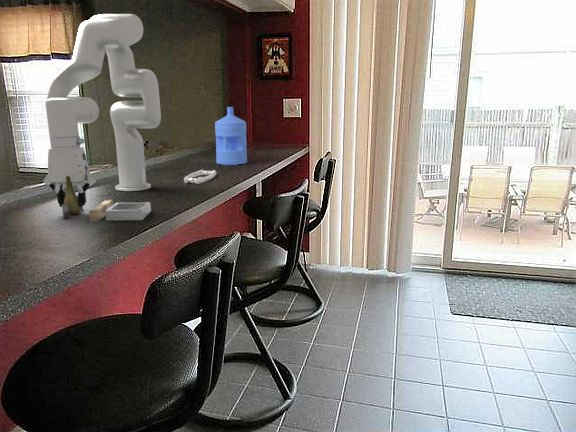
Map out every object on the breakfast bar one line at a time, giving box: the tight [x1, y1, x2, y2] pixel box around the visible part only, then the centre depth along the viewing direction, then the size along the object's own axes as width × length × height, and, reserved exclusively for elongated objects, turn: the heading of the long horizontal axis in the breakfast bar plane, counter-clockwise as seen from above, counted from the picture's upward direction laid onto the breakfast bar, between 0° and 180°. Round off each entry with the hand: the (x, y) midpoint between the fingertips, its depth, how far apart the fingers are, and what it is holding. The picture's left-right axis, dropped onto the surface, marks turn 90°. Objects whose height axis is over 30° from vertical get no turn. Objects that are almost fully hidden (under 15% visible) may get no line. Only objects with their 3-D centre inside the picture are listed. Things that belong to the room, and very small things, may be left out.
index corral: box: [105, 201, 152, 222], centre depth 134 cm, size 10×10×3 cm
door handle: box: [183, 169, 217, 185], centre depth 194 cm, size 3×10×25 cm
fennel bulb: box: [64, 176, 83, 216], centre depth 135 cm, size 6×5×12 cm
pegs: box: [61, 204, 84, 220], centre depth 136 cm, size 12×2×4 cm, turn 3°
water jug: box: [214, 106, 248, 166], centre depth 233 cm, size 16×16×28 cm
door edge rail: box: [88, 199, 114, 223], centre depth 135 cm, size 14×2×3 cm, turn 3°
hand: (72, 205), depth 136 cm, fingers closed on fennel bulb, 4 cm apart
